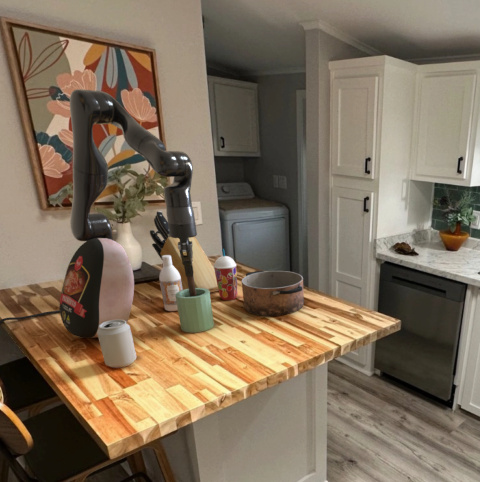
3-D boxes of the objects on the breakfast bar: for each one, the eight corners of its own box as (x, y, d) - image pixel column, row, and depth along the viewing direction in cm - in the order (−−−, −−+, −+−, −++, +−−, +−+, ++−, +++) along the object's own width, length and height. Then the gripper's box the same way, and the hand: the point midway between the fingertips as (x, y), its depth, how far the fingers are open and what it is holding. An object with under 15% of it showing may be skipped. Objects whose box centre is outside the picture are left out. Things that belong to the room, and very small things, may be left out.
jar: (180, 334, 131) (174, 299, 127) (182, 322, 140) (176, 289, 136) (214, 330, 135) (209, 296, 131) (213, 319, 144) (209, 286, 139)
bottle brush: (187, 316, 133) (178, 262, 126) (187, 310, 137) (179, 258, 130) (203, 314, 135) (196, 261, 128) (203, 309, 139) (196, 257, 132)
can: (114, 356, 117) (105, 317, 112) (142, 356, 117) (134, 317, 113) (99, 369, 110) (89, 329, 105) (129, 369, 110) (119, 328, 106)
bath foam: (166, 313, 147) (156, 259, 140) (163, 306, 153) (154, 254, 145) (187, 309, 151) (178, 257, 143) (184, 303, 156) (175, 252, 149)
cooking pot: (228, 301, 160) (225, 275, 156) (278, 289, 175) (276, 265, 171) (270, 324, 141) (267, 295, 137) (321, 309, 156) (320, 282, 152)
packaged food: (55, 333, 129) (28, 239, 118) (122, 315, 144) (103, 230, 133) (86, 353, 118) (59, 251, 107) (154, 331, 133) (137, 240, 122)
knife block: (180, 275, 189) (169, 207, 178) (225, 291, 170) (216, 217, 159) (155, 280, 181) (142, 209, 169) (200, 298, 162) (188, 220, 150)
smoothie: (244, 296, 166) (239, 248, 159) (230, 302, 159) (224, 252, 152) (227, 293, 169) (221, 245, 161) (213, 299, 161) (206, 250, 154)
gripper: (169, 217, 129) (178, 270, 136) (165, 225, 117) (175, 282, 124) (195, 217, 132) (202, 268, 138) (194, 224, 120) (202, 280, 126)
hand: (189, 275), depth 131 cm, fingers closed on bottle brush
